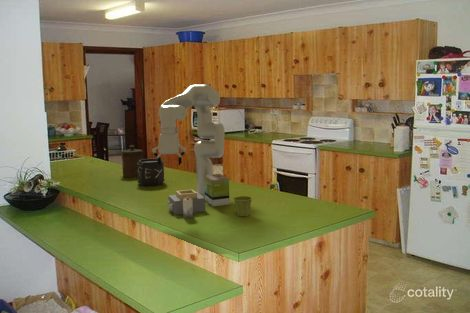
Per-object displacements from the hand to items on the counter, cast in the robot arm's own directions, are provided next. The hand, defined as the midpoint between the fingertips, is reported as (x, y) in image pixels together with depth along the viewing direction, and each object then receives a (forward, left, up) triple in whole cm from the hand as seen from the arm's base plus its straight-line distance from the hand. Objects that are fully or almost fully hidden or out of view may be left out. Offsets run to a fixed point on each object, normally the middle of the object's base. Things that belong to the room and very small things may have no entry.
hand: (169, 165), depth 252 cm
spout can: (-6, +10, -25) cm, 28 cm away
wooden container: (+2, -114, -25) cm, 116 cm away
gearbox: (-9, -4, -25) cm, 27 cm away
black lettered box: (-4, -78, -25) cm, 82 cm away
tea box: (-28, -12, -25) cm, 39 cm away
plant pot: (-32, +18, -25) cm, 45 cm away
